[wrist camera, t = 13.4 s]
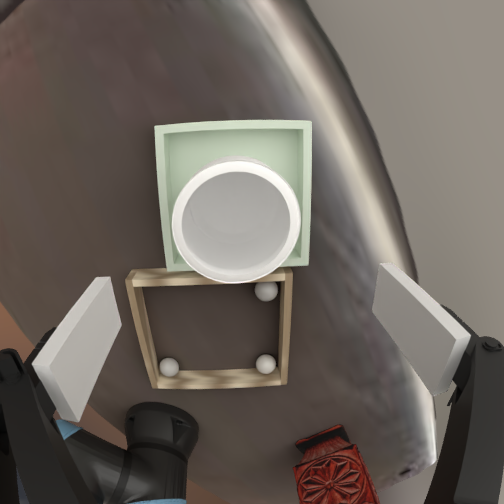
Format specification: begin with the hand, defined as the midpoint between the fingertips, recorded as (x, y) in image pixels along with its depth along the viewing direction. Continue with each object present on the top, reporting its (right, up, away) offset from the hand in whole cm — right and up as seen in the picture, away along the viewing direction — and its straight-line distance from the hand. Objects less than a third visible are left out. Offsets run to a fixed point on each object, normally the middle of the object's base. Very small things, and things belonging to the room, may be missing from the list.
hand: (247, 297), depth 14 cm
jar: (-2, +10, +24) cm, 26 cm away
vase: (+17, -42, +46) cm, 64 cm away
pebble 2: (+2, -15, +35) cm, 38 cm away
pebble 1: (+2, -2, +30) cm, 30 cm away
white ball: (-13, -16, +34) cm, 39 cm away
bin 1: (-2, +10, +25) cm, 27 cm away
